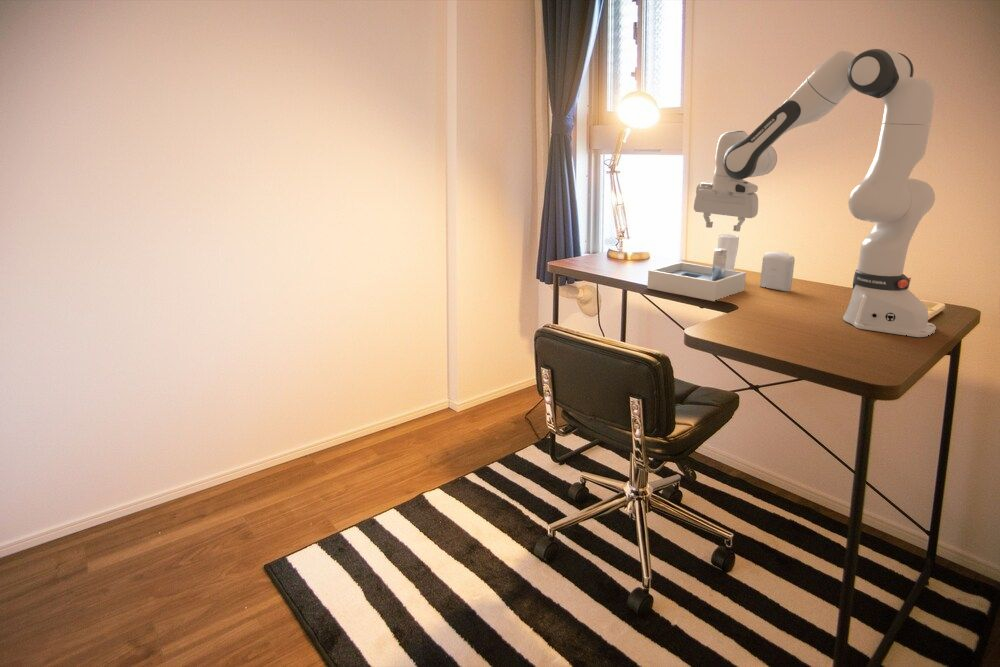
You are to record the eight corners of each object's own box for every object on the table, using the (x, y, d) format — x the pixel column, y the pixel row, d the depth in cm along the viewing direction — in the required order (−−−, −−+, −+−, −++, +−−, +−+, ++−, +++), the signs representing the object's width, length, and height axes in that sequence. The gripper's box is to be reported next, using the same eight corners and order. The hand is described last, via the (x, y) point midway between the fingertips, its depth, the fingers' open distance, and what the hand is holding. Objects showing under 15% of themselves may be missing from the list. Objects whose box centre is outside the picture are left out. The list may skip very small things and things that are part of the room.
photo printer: (757, 286, 238) (761, 250, 234) (764, 284, 241) (768, 248, 237) (786, 292, 230) (791, 254, 227) (793, 290, 233) (798, 253, 229)
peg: (726, 280, 231) (729, 249, 228) (720, 282, 228) (723, 251, 225) (715, 278, 233) (717, 248, 230) (709, 280, 231) (712, 249, 228)
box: (744, 290, 233) (746, 272, 231) (714, 301, 219) (716, 282, 217) (678, 278, 248) (680, 261, 247) (647, 288, 235) (648, 270, 233)
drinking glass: (710, 277, 251) (714, 234, 247) (725, 275, 254) (729, 233, 249) (723, 281, 245) (728, 237, 241) (738, 279, 248) (743, 236, 243)
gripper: (692, 182, 226) (688, 226, 231) (753, 188, 213) (748, 234, 217) (702, 181, 231) (697, 224, 235) (763, 186, 217) (757, 232, 221)
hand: (722, 229), depth 226 cm, fingers open, 8 cm apart
